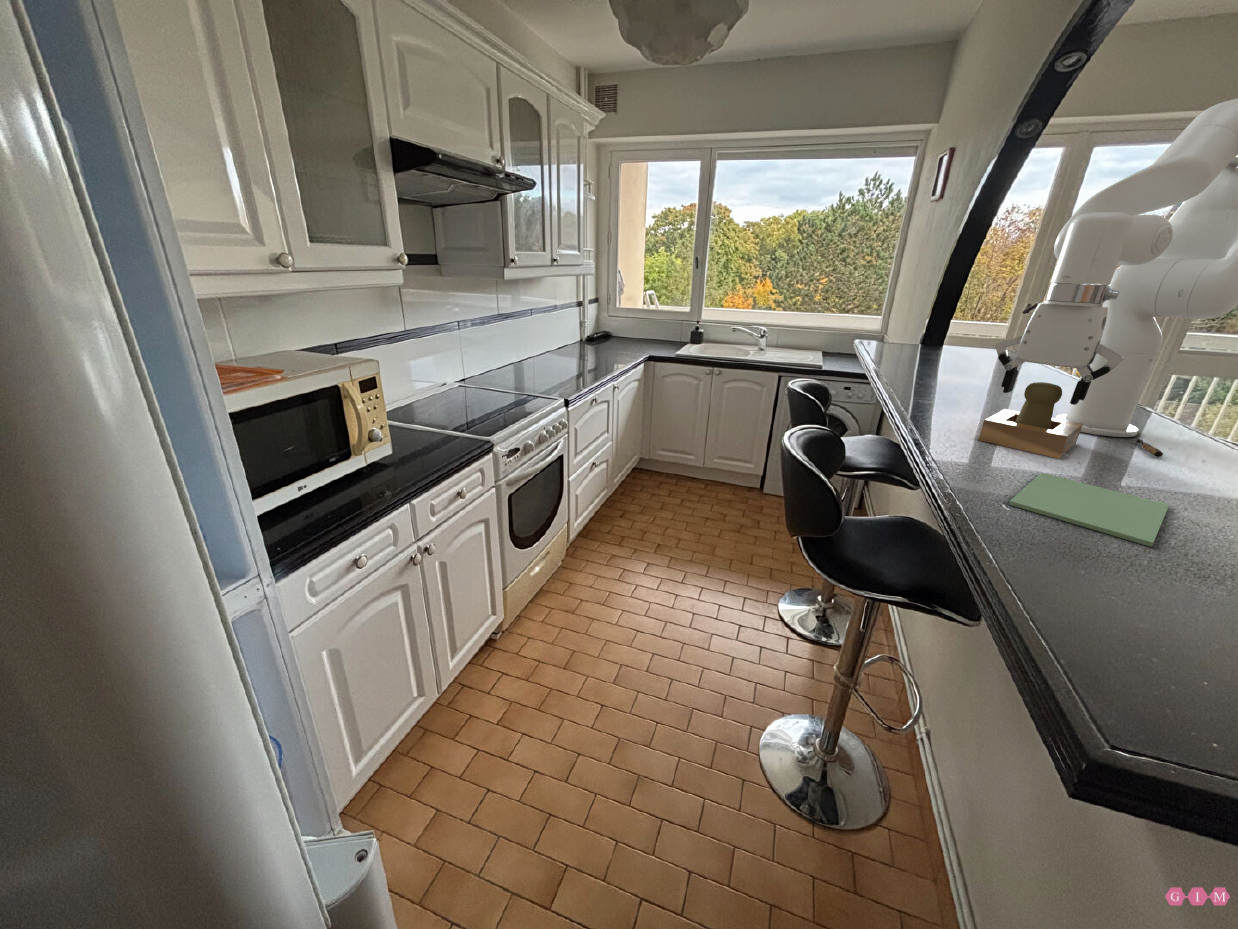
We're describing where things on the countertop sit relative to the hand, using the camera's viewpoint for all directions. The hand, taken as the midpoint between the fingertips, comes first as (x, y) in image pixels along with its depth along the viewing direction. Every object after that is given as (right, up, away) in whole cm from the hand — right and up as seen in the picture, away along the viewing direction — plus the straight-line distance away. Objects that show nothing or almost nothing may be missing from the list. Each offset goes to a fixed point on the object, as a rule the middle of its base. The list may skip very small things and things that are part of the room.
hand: (1039, 397), depth 90 cm
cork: (0, -8, +3) cm, 9 cm away
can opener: (+19, -10, 0) cm, 22 cm away
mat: (-11, -18, -21) cm, 30 cm away
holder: (0, -8, +3) cm, 9 cm away
